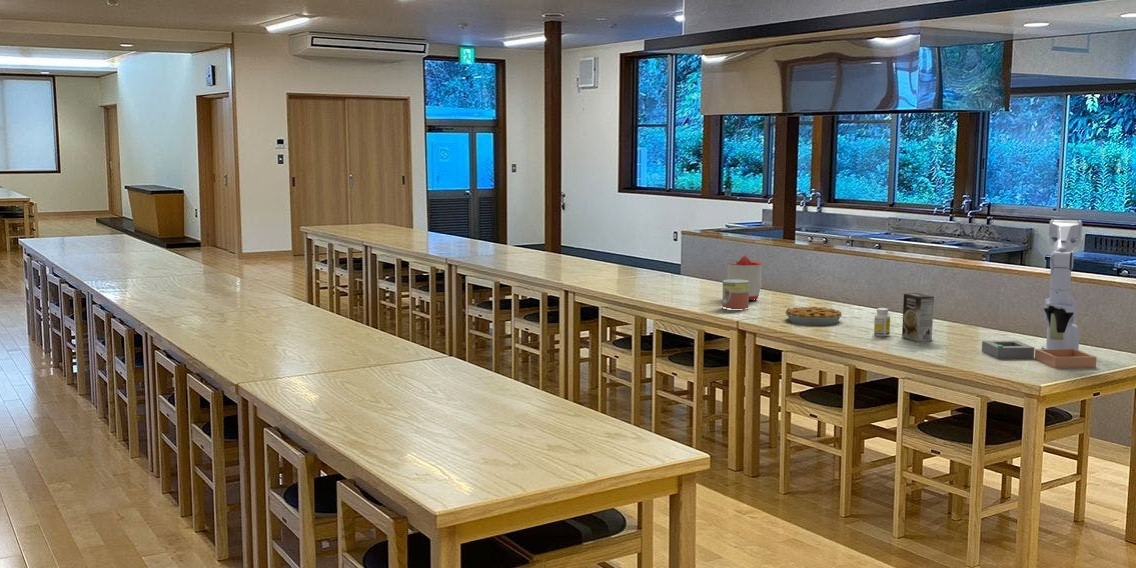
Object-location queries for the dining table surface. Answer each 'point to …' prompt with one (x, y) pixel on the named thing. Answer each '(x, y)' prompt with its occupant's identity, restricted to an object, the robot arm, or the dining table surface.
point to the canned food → (735, 294)
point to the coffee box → (917, 317)
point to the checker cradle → (1008, 349)
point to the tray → (1065, 358)
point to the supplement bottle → (882, 322)
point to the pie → (813, 315)
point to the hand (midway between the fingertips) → (1057, 331)
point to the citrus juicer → (747, 274)
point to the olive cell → (1055, 329)
